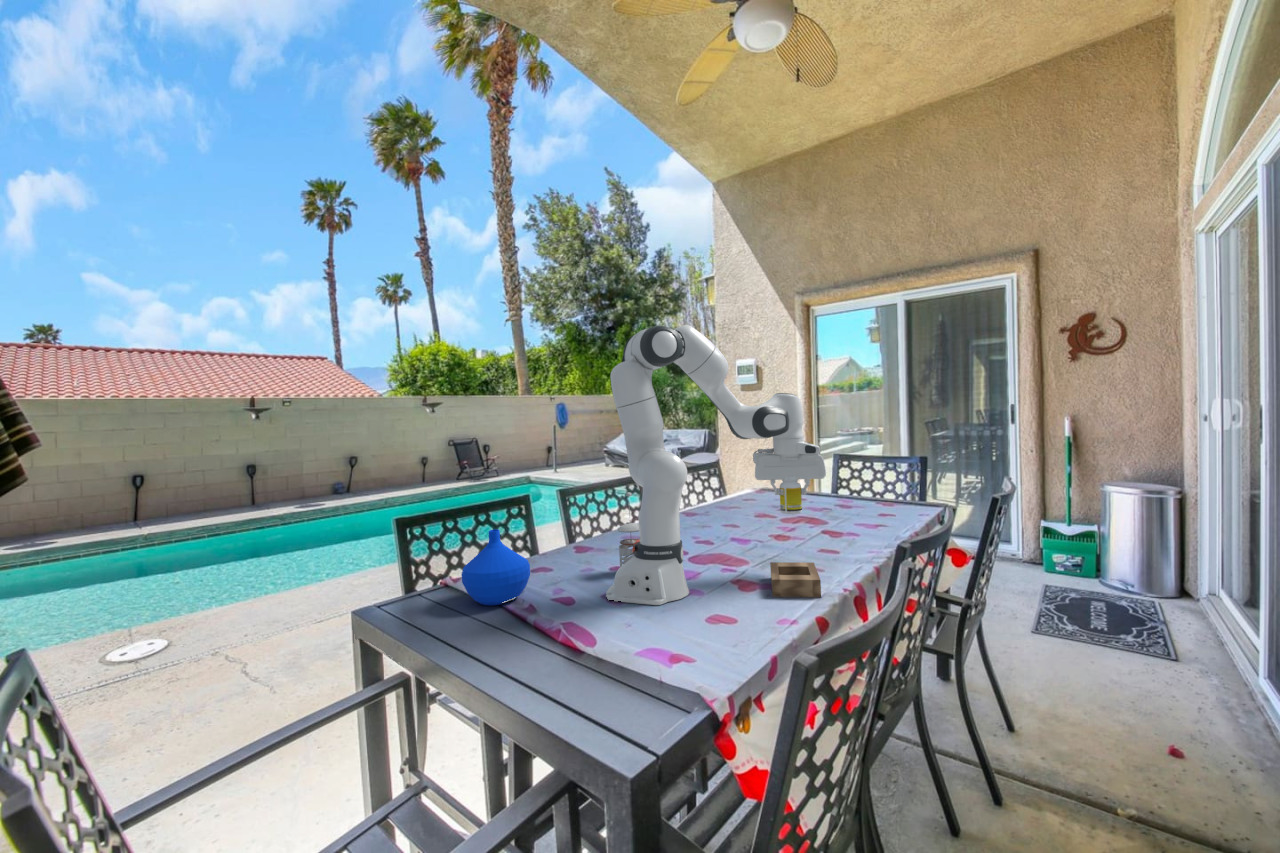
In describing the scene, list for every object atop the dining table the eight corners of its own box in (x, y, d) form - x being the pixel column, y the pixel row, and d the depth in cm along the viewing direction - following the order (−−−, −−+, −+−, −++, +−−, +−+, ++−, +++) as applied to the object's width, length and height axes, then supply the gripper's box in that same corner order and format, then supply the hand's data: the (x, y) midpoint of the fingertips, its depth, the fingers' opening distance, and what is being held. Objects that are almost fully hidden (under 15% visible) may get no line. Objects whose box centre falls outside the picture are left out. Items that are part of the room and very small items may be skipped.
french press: (616, 568, 175) (611, 491, 174) (651, 566, 176) (647, 488, 175) (618, 577, 165) (613, 495, 164) (656, 574, 166) (651, 492, 165)
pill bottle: (805, 512, 162) (804, 474, 162) (795, 515, 157) (794, 477, 157) (786, 510, 166) (785, 474, 166) (776, 513, 162) (775, 476, 161)
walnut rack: (772, 596, 141) (771, 579, 141) (771, 577, 157) (770, 562, 157) (821, 597, 139) (820, 579, 139) (814, 578, 154) (813, 562, 154)
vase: (541, 588, 158) (537, 523, 158) (516, 612, 140) (511, 537, 140) (482, 588, 161) (478, 524, 161) (450, 611, 143) (445, 538, 143)
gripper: (752, 449, 160) (754, 496, 161) (825, 447, 156) (827, 495, 156) (752, 448, 166) (754, 493, 167) (822, 446, 162) (824, 492, 162)
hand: (790, 494), depth 161 cm, fingers closed on pill bottle, 6 cm apart
